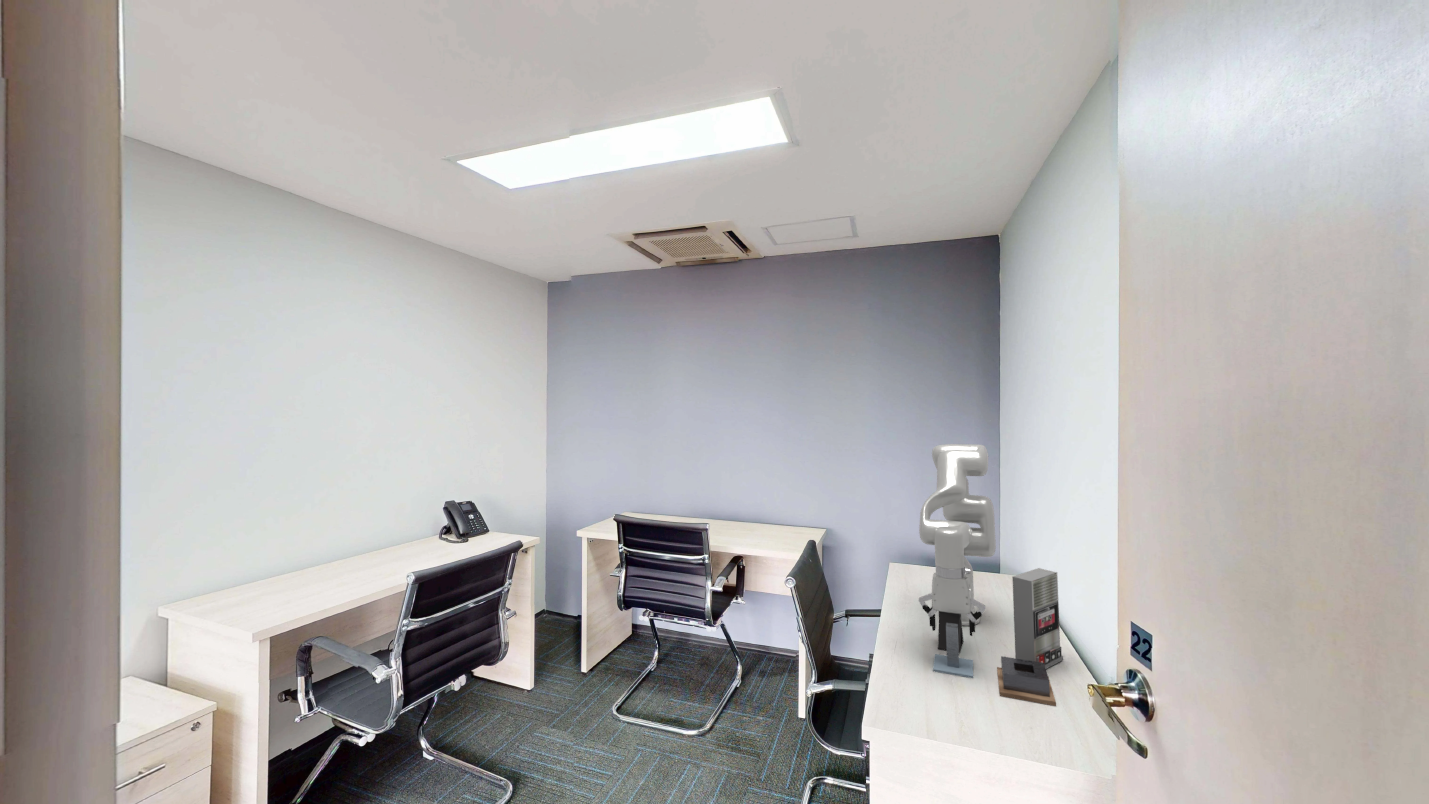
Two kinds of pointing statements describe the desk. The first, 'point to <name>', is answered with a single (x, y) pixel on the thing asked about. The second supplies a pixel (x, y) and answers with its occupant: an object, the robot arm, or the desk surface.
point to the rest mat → (963, 670)
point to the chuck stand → (1023, 695)
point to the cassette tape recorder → (1037, 617)
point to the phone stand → (943, 619)
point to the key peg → (952, 645)
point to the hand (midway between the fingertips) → (952, 631)
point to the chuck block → (1025, 676)
